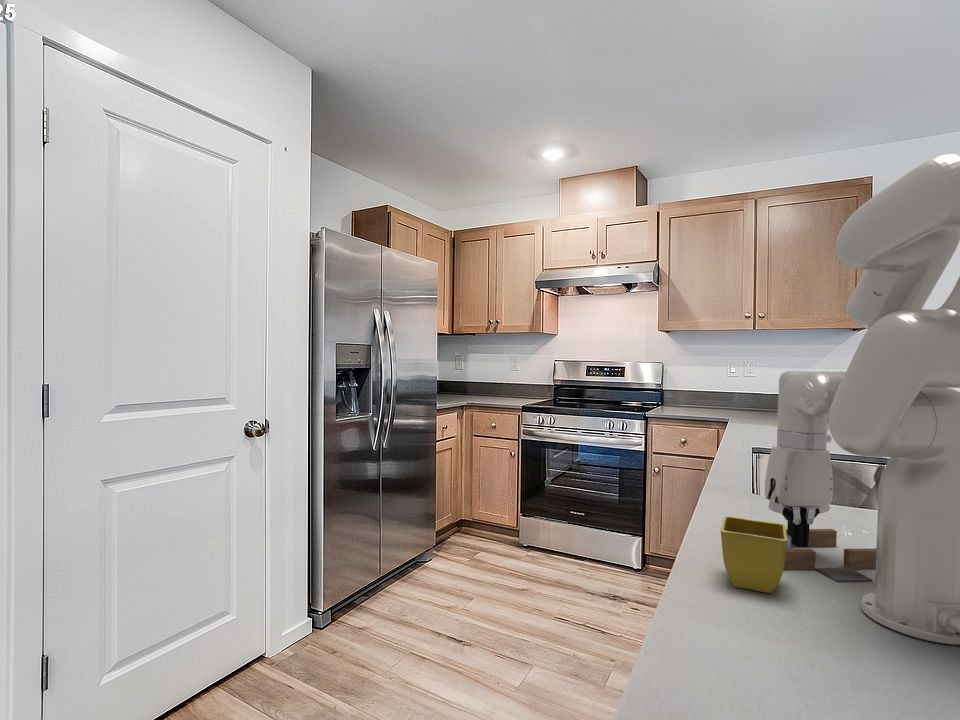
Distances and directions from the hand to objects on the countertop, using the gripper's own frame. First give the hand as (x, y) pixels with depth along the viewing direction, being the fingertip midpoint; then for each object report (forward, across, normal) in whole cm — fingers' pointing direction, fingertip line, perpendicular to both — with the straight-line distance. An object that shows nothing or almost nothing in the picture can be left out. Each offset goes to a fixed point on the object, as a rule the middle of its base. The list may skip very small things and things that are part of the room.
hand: (797, 544), depth 95 cm
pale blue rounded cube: (+2, +5, 0) cm, 5 cm away
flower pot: (+2, +16, +11) cm, 19 cm away
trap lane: (+2, -1, 0) cm, 2 cm away
